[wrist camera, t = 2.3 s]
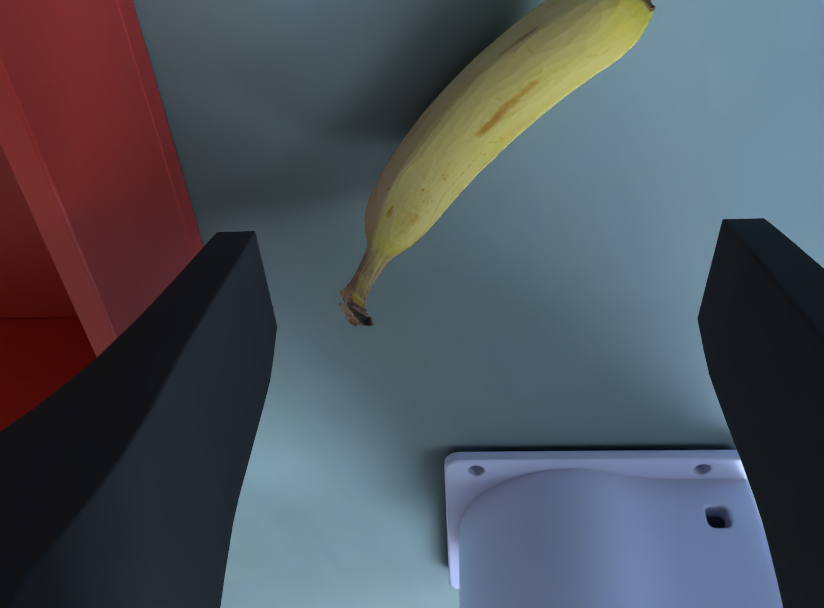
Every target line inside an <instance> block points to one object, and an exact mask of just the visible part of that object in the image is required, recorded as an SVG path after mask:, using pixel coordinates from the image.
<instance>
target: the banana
mask: <svg viewBox="0 0 824 608" xmlns="http://www.w3.org/2000/svg"><path fill="white" fill-rule="evenodd" d="M654 9H655V6H654V5H652V3H651V0H546V1H544V2H543V3H541V4H540V5H538V6H537V7H535V8H534V9H533V10H531V11H530V12H528V13H527V14H526V15H525V16H523V17H522V18H521V19H520V20H519V21H517V22H516V23H515V24H514V25H513V26H511V27H510V28H509V29H508V30H507V31H505V32H504V33H503V34H502V35H501V36H499V37H498V38H497V39H496V40H495V41H493V42H492V43H491V44H490V45H489V46H487V47H486V48H485V49H484V50H483V51H482V52H481V53H479V54H478V55H477V56H476V57H475V58H474V59H473V60H472V61H471V62H470V63H469V64H468V65H467V66H466V67H465V68H464V69H463V70H462V71H461V72H460V73H459V74H458V75H457V76H456V77H455V78H454V79H453V80H452V81H451V82H450V83H449V84H448V86H447V87H446V88H445V89H444V90H443V91H442V92H441V93H440V94H439V95H438V97H437V98H436V99H435V100H434V101H433V102H432V103H431V105H430V106H429V107H428V108H427V109H426V110H425V111H424V113H423V114H422V115H421V116H420V117H419V119H418V120H417V121H416V123H415V124H414V125H413V127H412V128H411V129H410V131H409V132H408V133H407V135H406V136H405V137H404V139H403V140H402V142H401V143H400V144H399V146H398V147H397V149H396V150H395V152H394V153H393V155H392V156H391V158H390V159H389V161H388V163H387V164H386V166H385V167H384V169H383V171H382V173H381V174H380V176H379V178H378V180H377V182H376V184H375V186H374V188H373V190H372V193H371V195H370V197H369V200H368V204H367V208H366V213H365V233H366V239H367V248H366V252H365V254H364V256H363V259H362V261H361V263H360V265H359V267H358V269H357V271H356V273H355V275H354V276H353V278H352V280H351V281H350V283H349V284H348V285H347V287H346V288H343V289H342V290H340V294H341V296H342V298H343V300H344V303H340V304H339V305H340V306H339V307H340V308H341V310H342V311H343V312H344V314H345V317H346V318H347V321H348V322H350V324H351V325H354V326H357V325H358V324H359V325H362V326H373V325H374V324H373V321H372V318H371V317H370V315H369V314H368V313H367V309H366V301H367V298H368V295H369V292H370V290H371V288H372V287H373V285H374V282H375V281H376V279H377V278H378V276H379V274H380V273H381V272H382V270H383V269H384V268H385V266H386V265H387V263H389V262H390V260H391V259H393V258H394V257H395V256H397V255H398V254H400V253H401V252H403V251H404V250H406V249H408V248H409V247H411V246H412V245H413V244H414V243H416V242H417V241H418V240H419V239H420V238H421V237H422V236H423V235H424V234H425V233H426V232H427V231H428V230H429V229H430V228H431V227H432V226H433V225H434V223H435V222H436V221H437V220H438V219H439V218H440V216H441V215H442V214H443V213H444V212H445V210H446V209H447V208H448V207H449V206H450V205H451V203H452V202H453V201H454V200H455V199H456V198H457V197H458V196H459V194H460V193H461V192H462V191H463V190H464V189H465V188H466V187H467V186H468V184H469V183H470V182H471V181H472V180H473V179H474V178H475V177H476V176H477V175H478V174H479V173H480V172H481V171H482V170H483V169H484V168H485V167H486V166H487V165H488V164H489V163H490V162H491V161H492V160H493V159H494V158H495V157H496V156H497V155H498V154H499V153H500V152H501V151H503V150H504V149H505V148H506V147H507V146H508V145H509V144H510V143H511V142H512V141H513V140H514V139H516V138H517V137H518V136H519V135H520V134H521V133H522V132H523V131H525V130H526V129H527V128H528V127H529V126H530V125H531V124H533V123H534V122H535V121H536V120H537V119H538V118H539V117H541V116H542V115H543V114H544V113H545V112H547V111H548V110H549V109H550V108H552V107H553V106H554V105H555V104H557V103H558V102H559V101H560V100H562V99H563V98H564V97H565V96H567V95H568V94H569V93H571V92H572V91H574V90H575V89H576V88H578V87H579V86H581V85H582V84H583V83H585V82H586V81H588V80H589V79H590V78H592V77H593V76H595V75H596V74H597V73H599V72H601V71H602V70H604V69H605V68H607V67H608V66H610V65H611V64H612V63H614V62H615V61H617V60H618V59H620V58H621V57H622V56H623V55H624V54H625V53H626V52H627V51H628V50H629V49H631V48H632V47H633V46H634V45H635V43H636V42H637V41H638V40H639V39H640V37H641V35H642V33H643V32H644V30H645V28H646V27H647V25H648V23H649V22H650V20H651V17H652V15H653V12H654Z"/></svg>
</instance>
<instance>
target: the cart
mask: <svg viewBox="0 0 824 608" xmlns="http://www.w3.org/2000/svg"><path fill="white" fill-rule="evenodd" d="M202 248H203V243H202V240H201V236H200V233H199V229H198V226H197V222H196V219H195V215H194V212H193V208H192V205H191V202H190V198H189V195H188V191H187V188H186V184H185V181H184V177H183V174H182V170H181V167H180V163H179V160H178V156H177V153H176V150H175V146H174V143H173V139H172V136H171V132H170V129H169V125H168V122H167V118H166V115H165V111H164V108H163V104H162V101H161V98H160V94H159V91H158V87H157V84H156V80H155V77H154V73H153V70H152V66H151V63H150V59H149V56H148V52H147V49H146V46H145V42H144V39H143V35H142V32H141V28H140V25H139V21H138V18H137V14H136V11H135V7H134V4H133V0H0V431H1V430H3V429H4V428H6V427H7V426H9V425H10V424H11V423H13V422H14V421H16V420H17V419H19V418H20V417H22V416H23V415H24V414H26V413H27V412H29V411H30V410H32V409H33V408H35V407H36V406H37V405H39V404H40V403H41V402H43V401H44V400H45V399H47V398H48V397H49V396H50V395H52V394H53V393H54V392H56V391H57V390H58V389H59V388H61V387H62V386H63V385H64V384H66V383H67V382H68V381H69V380H71V379H72V378H73V377H74V376H76V375H77V374H78V373H79V372H80V371H81V370H83V369H84V368H85V367H86V366H87V365H89V364H90V363H91V362H92V361H93V360H94V359H95V358H96V357H98V356H99V355H100V354H101V353H102V352H103V351H104V350H105V349H106V348H107V347H108V346H109V345H110V344H111V343H112V342H113V341H114V340H115V339H117V338H118V337H119V336H120V335H121V334H122V333H123V332H124V331H125V330H126V329H127V328H128V327H129V326H130V325H131V324H132V323H133V322H134V321H135V320H136V319H137V318H138V317H139V316H140V315H141V314H142V313H143V312H144V311H145V310H146V309H147V308H148V307H149V306H150V305H151V304H152V303H153V302H154V300H155V299H156V298H157V297H158V296H159V295H160V294H161V293H162V292H163V291H164V290H165V289H166V288H167V287H168V286H169V284H170V283H171V282H172V281H173V280H174V279H175V278H176V277H177V276H178V275H179V273H180V272H181V271H182V270H183V269H184V268H185V267H186V266H187V265H188V263H189V262H190V261H191V260H192V259H193V258H194V257H195V256H196V255H197V253H198V252H199V251H200V250H201V249H202Z"/></svg>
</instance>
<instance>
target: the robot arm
mask: <svg viewBox="0 0 824 608" xmlns="http://www.w3.org/2000/svg"><path fill="white" fill-rule="evenodd" d="M698 324H699V329H700V334H701V339H702V344H703V349H704V353H705V358H706V362H707V366H708V371H709V375H710V378H711V381H712V384H713V386H714V389H715V392H716V395H717V398H718V400H719V403H720V406H721V409H722V411H723V414H724V417H725V419H726V422H727V425H728V428H729V430H730V433H731V436H732V438H733V441H734V444H735V446H736V449H737V450H630V451H493V452H454V453H452V454H450V455H448V456H447V457H446V458H445V461H444V473H445V495H446V518H447V541H448V563H449V583H450V585H451V586H452V587H453V588H455V589H458V590H459V598H460V608H824V268H822V267H821V266H820V265H819V264H818V263H817V262H815V261H814V260H813V259H812V258H811V257H810V256H808V255H807V254H806V253H805V252H804V251H803V250H801V249H800V248H799V247H798V246H797V245H796V244H795V243H793V242H792V241H791V240H790V239H789V238H788V237H786V236H785V235H784V234H783V233H782V232H780V231H779V230H778V229H777V228H776V227H774V226H773V225H772V224H771V223H769V222H768V221H767V220H765V219H764V218H761V219H723V220H722V224H721V228H720V232H719V236H718V240H717V244H716V248H715V252H714V256H713V260H712V264H711V268H710V272H709V275H708V279H707V283H706V287H705V291H704V295H703V299H702V303H701V307H700V311H699V315H698ZM276 331H277V324H276V319H275V315H274V311H273V307H272V302H271V298H270V294H269V289H268V285H267V281H266V276H265V272H264V268H263V263H262V259H261V255H260V251H259V246H258V242H257V238H256V233H255V231H245V232H217V233H216V234H215V235H214V236H213V237H212V238H211V239H210V240H209V241H208V243H207V244H206V245H205V246H204V247H203V248H202V249H201V250H200V251H199V252H198V253H197V255H196V256H195V257H194V258H193V259H192V260H191V261H190V262H189V263H188V265H187V266H186V267H185V268H184V269H183V270H182V271H181V272H180V273H179V275H178V276H177V277H176V278H175V279H174V280H173V281H172V282H171V283H170V284H169V286H168V287H167V288H166V289H165V290H164V291H163V292H162V293H161V294H160V295H159V296H158V297H157V298H156V299H155V300H154V302H153V303H152V304H151V305H150V306H149V307H148V308H147V309H146V310H145V311H144V312H143V313H142V314H141V315H140V316H139V317H138V318H137V319H136V320H135V321H134V322H133V323H132V324H131V325H130V326H129V327H128V328H127V329H126V330H125V331H124V332H123V333H122V334H121V335H120V336H119V337H118V338H117V339H115V340H114V341H113V342H112V343H111V344H110V345H109V346H108V347H107V348H106V349H105V350H104V351H103V352H102V353H101V354H100V355H99V356H98V357H96V358H95V359H94V360H93V361H92V362H91V363H90V364H89V365H87V366H86V367H85V368H84V369H83V370H81V371H80V372H79V373H78V374H77V375H76V376H74V377H73V378H72V379H71V380H69V381H68V382H67V383H66V384H64V385H63V386H62V387H61V388H59V389H58V390H57V391H56V392H54V393H53V394H52V395H50V396H49V397H48V398H47V399H45V400H44V401H43V402H41V403H40V404H39V405H37V406H36V407H35V408H33V409H32V410H30V411H29V412H27V413H26V414H24V415H23V416H22V417H20V418H19V419H17V420H16V421H14V422H13V423H11V424H10V425H9V426H7V427H6V428H4V429H3V430H1V431H0V608H220V605H221V598H222V591H223V583H224V577H225V570H226V564H227V558H228V551H229V545H230V539H231V532H232V526H233V521H234V517H235V512H236V508H237V503H238V499H239V495H240V491H241V487H242V484H243V480H244V476H245V473H246V469H247V465H248V462H249V458H250V454H251V451H252V447H253V443H254V440H255V436H256V432H257V429H258V425H259V421H260V417H261V414H262V410H263V406H264V402H265V399H266V395H267V391H268V387H269V383H270V378H271V370H272V363H273V356H274V348H275V339H276ZM747 478H748V481H749V484H750V486H751V489H752V492H753V494H754V497H755V501H756V504H757V507H758V510H759V513H760V516H761V519H762V522H763V526H764V529H763V526H762V524H761V521H760V518H759V515H758V512H757V509H756V506H755V503H754V500H753V497H752V494H751V491H750V488H749V485H748V482H747V481H746V480H747ZM764 530H765V532H764ZM765 534H766V535H765Z"/></svg>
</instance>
